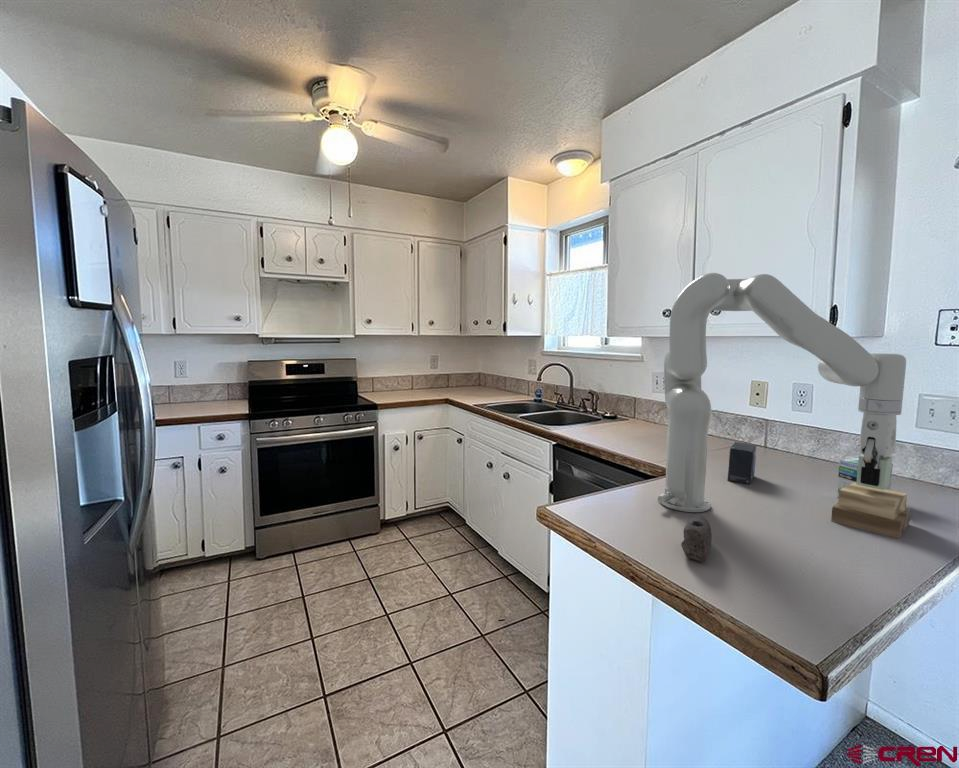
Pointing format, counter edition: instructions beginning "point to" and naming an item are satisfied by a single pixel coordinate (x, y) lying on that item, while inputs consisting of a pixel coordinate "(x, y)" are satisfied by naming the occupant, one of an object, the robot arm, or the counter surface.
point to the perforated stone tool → (697, 538)
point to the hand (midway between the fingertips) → (872, 481)
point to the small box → (742, 462)
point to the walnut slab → (871, 521)
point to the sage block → (884, 472)
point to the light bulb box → (850, 473)
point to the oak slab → (873, 500)
